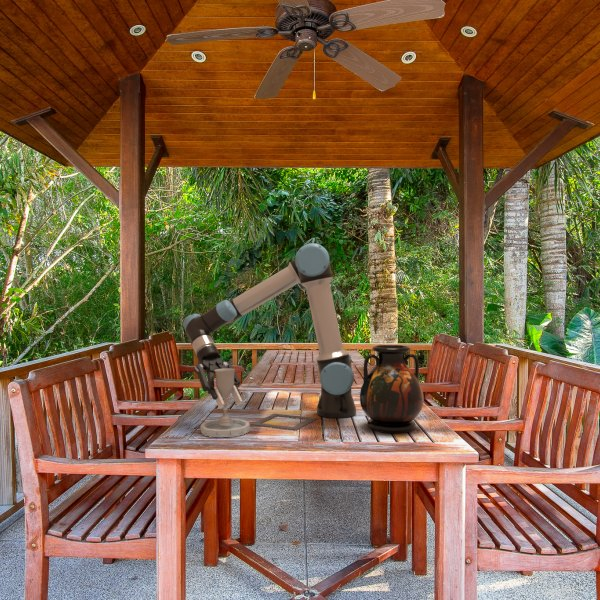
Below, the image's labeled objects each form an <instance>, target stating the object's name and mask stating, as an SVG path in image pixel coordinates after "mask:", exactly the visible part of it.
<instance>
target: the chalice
mask: <svg viewBox="0 0 600 600" xmlns="http://www.w3.org/2000/svg"><path fill="white" fill-rule="evenodd" d="M214 371H215V373H214V374H215V386H216V388H218V391H219V393H220V395H221V397H222V399H223V402H224V405H223V407H222V411H223V415H222V416H220V417H219V419H220V420H219V422H218V425H223V426H225V425H231V424H233V423H232V420H231V419H232V418H231V416H230V415H228V414H227V413H228V407H227V406H228V401H227V398H229V397H230V395H232V393H231V391H232V389H233V386H234V372H235V373H236V369H235V368H233V369H231V368H225V367H224V369H216V370H214Z"/></svg>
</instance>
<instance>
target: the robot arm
mask: <svg viewBox="0 0 600 600" xmlns="http://www.w3.org/2000/svg"><path fill="white" fill-rule="evenodd" d="M333 278H334V277H333V273H332V268H331V263H330V255H329V252H328V250H327V249H326V248H325V247H324V246H322V245H321V244H319V243H314V242H313V243H311V242H310V243H306V244H304V245H302V246H301V247H300V248H299V249H298V251H297V252H296V254H295V258H294V259H292V260H291V261H289V262H288V265H287V266H286V267H284V268H283V269H281V270H280V271H278V272H276V273H275V274H273V275H271V276H270V277H268V278H266V279H264V280H262V281H261V282H259V283H257V284H256V285H255V286H253V287H251V288H249V289H247V290H245V292H242V293H241V294H239V295H237V296H236V297H234V298H233V299H231V300H228V299H223V300H222V301H220V302H218V303H217V304H216V305H214V306H213V307H212V308H210V309H209V310H208V311H206V312H204V313H203V314H199V313H192V314H189V315H188V316H186V317H185V318H184V319H183V322H182V324H183V327H184V328H183V329H184V331H185V335H186V337H188V340H189V342H190V343H191V347H192V349H193V351H194V353H195V355H196V359H197V360H198V362H199V363H197V364H196V365H195V367H194V369H193V370H194V372H195V373H196V374H197V376H198V380H199V382H200V386H201V388H202V391H203V392H207V394H208V395H211V398H212V400H215V402H216V405H217V406H218V409H220V410H221V409H222V410H223V408H224V398H223V397H221V395H220V393H219V391H218V388H217V387H215V377H214V376H215V375H214V374H216V373H215V371H214V370H216V369H224V368H231V369H234V368H233V366H232V362H231V360H227V361H223V359H222V358H221V354H220V352H219V350H218V347H217V346H216V343H215V342H214V340H213V337H212V336H211V335H212V333H214V332H216V331H217V330H219V329H220V328H221V327H223V326H225V325H230V324H233V323H235V322H236V321H237V320H239V319H240V318H242V317H243V316H244V315H246V314H248V313H250V312H252V311H253V310H255V309H256V308H259V307H260V306H262V305H263V304H265V303H267V302H268V301H270V300H272V299H274V298H276V297H277V296H279V295H280V294H282V293H284V292H285V291H287V290H289V289H290V288H292V287H294V286H296V285H297V284H300V285H301V286H302V287H304V288H305V290H306V295H307V298H308V303H309V307H310V313H311V318H312V322H313V327H314V328H313V329H314V332H315V337H316V342H317V348H318V352H319V355H318V356H317V357H316V363H317V367H318V374H319V383H320V396H319V399H318V403H317V405H316V414H317V415H318V416H319V417H323V418H324V417H325V418H330V419H331V418H332V419H334V418H335V419H342V418H350V417H351V418H352V417H354V416H356V415H357V406H356V404H355V400H354V398H353V394H352V387H353V385H354V381H355V374H354V372H353V368H352V362H353V360H352V355H351V354H350V353H349V351H347V350H345V348H344V345H343V341H342V338H341V337H342V336H341V332H340V327H339V322H338V317H337V312H336V308H335V303H334V298H333V293H332V290H331V282H332V280H333ZM205 372H206V373H205ZM241 383H242V382H241V380H240V377H239V376H238V374H237V373H236V371H235V372H234V386H233V389H232V391H231V395H232V398H233V400H234V402H235V404H236V406H237V407H239V406H241V404H242V402H243V399H242V397H241V395H240V394H241V391H240V389H239V386H240V384H241Z"/></svg>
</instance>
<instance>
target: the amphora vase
mask: <svg viewBox="0 0 600 600" xmlns="http://www.w3.org/2000/svg"><path fill="white" fill-rule="evenodd" d="M371 349H372V351H374V352H376V353H377V355H378V356H377V355H376V354H373V353H371V354H370V353H369V354H368V355H366V356H365V358H364V360H363V383H362V385H361V387H360V391H359V392H360V393H359V404H360V407H361V409H362V411H363V412H364V414H365V415H366V416H367V418H369V419H368V420H367V422H366V423H367V427H368V428H369V429H371V430H372V431H375V432H380V433H385V434H404V433H409V432H412V431H413V430H415V429H416V427H417V424H416V422H415V419H416V418H417V417H418V416H419V414H420V413H421V411H422V409H423V407H424V401H425V400H424V397H425V396H424V392H423V388H422V386H421V384H420V364H419V362H420V361H419V359H418V357H417V355H415V354H414V353H408V352H410V351H411V347H410V346H408V345H401V344H378V345H374V346H373V347H372V348H371ZM406 353H408V354H406ZM405 354H406V355H405ZM410 358H412V359H413V362H414V371H412V370H411V369H410V367H409V366H408V360H409V359H410ZM370 359H374V360H375V365H374V366H373V367H372V368H371V370H370V371H369V372H368V363H369V360H370Z"/></svg>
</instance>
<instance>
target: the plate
mask: <svg viewBox="0 0 600 600" xmlns="http://www.w3.org/2000/svg"><path fill="white" fill-rule="evenodd" d="M219 420H220V418H218V419H217V418H216V419H211V420H207V421H205V422H202V423H201V424H200V426H199V427H200V434H201V433H202V434H203V435H206V436H211V437H233V438H235V437H234V436H239V437H241V436H240V435H243V436H245V435H247V434H249V433H248V432H250V421H247V420H245V419H241V418H231V420H232V423H233V424H231V425H225V426H223V425H218V422H219ZM246 433H247V434H246ZM202 434H201V435H202ZM244 434H245V435H244ZM203 435H202V436H203ZM206 436H205V437H206ZM211 437H210V438H211Z"/></svg>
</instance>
